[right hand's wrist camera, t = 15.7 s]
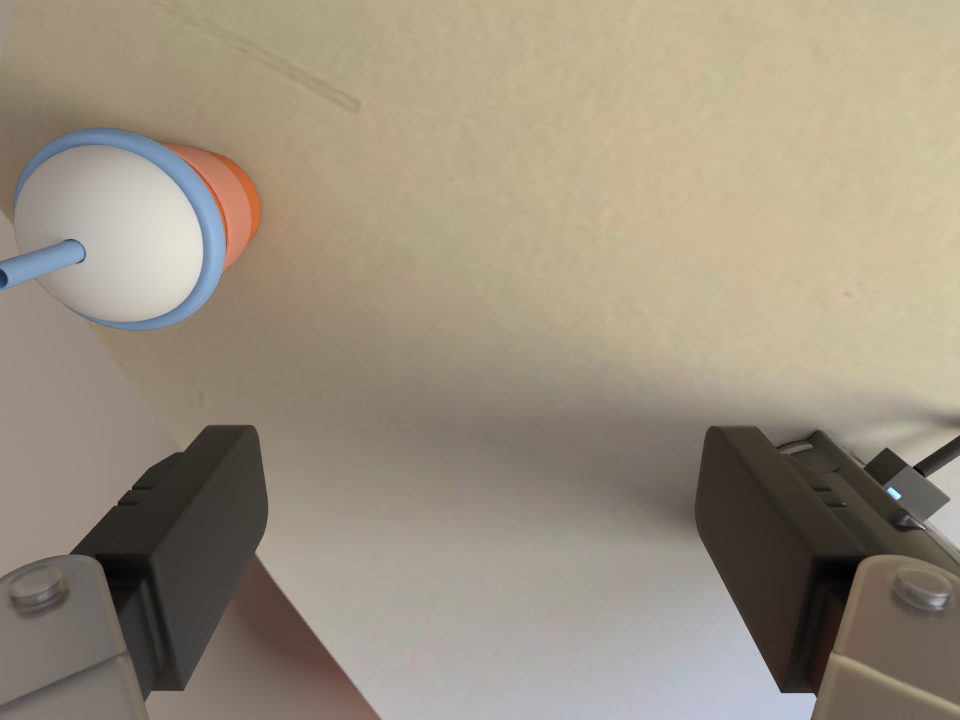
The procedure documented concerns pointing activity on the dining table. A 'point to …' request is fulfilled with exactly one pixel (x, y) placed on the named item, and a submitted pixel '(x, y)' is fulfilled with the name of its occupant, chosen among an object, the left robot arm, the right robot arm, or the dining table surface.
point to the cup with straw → (129, 226)
